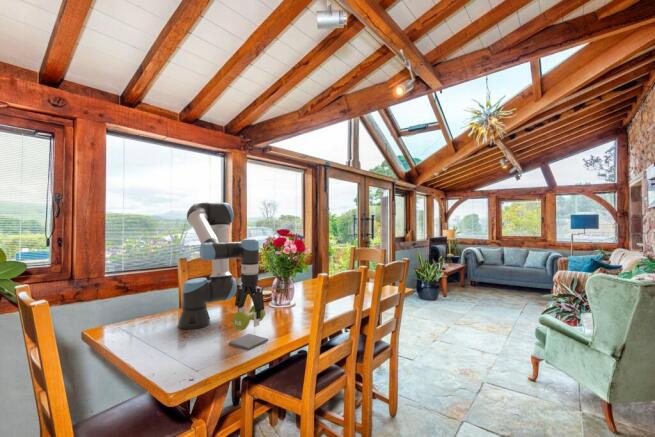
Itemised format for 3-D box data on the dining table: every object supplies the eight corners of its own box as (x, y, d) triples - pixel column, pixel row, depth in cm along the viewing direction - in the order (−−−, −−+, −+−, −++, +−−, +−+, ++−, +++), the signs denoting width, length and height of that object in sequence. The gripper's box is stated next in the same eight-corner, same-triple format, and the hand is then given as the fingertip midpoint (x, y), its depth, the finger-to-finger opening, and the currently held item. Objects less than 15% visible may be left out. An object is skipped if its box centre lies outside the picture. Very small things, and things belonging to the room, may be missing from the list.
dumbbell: (245, 332, 132) (245, 314, 132) (229, 329, 135) (230, 312, 135) (266, 320, 147) (267, 305, 147) (252, 318, 150) (252, 303, 150)
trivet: (229, 344, 139) (229, 341, 139) (248, 335, 149) (248, 333, 149) (248, 350, 133) (248, 347, 133) (268, 340, 143) (268, 338, 143)
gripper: (226, 272, 143) (226, 321, 143) (261, 277, 132) (260, 331, 132) (239, 269, 150) (238, 317, 150) (273, 274, 139) (272, 326, 139)
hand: (249, 323), depth 141 cm, fingers closed on dumbbell, 8 cm apart
